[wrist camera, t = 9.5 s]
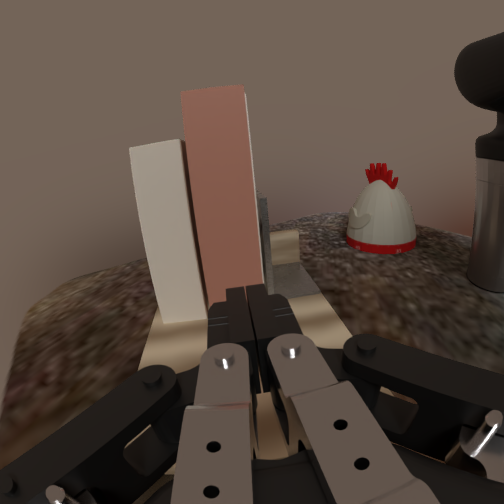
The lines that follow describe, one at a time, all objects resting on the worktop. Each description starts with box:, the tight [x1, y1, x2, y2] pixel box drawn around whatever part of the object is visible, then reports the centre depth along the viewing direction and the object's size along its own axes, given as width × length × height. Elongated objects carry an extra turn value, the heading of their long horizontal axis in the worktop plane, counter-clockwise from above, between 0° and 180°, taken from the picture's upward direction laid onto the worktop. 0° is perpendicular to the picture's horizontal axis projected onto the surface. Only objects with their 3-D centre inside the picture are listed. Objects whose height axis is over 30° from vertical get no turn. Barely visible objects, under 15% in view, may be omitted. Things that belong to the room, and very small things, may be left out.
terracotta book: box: [181, 85, 264, 307], centre depth 31 cm, size 18×5×22 cm, turn 7°
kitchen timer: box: [347, 163, 416, 254], centre depth 51 cm, size 14×14×15 cm
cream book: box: [129, 139, 208, 324], centre depth 34 cm, size 12×5×19 cm, turn 7°
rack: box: [125, 229, 393, 474], centre depth 29 cm, size 32×20×6 cm, turn 7°
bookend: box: [255, 188, 321, 299], centre depth 37 cm, size 10×6×12 cm, turn 7°
